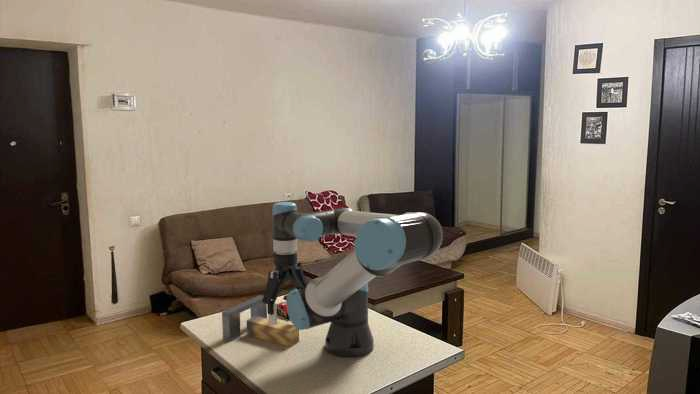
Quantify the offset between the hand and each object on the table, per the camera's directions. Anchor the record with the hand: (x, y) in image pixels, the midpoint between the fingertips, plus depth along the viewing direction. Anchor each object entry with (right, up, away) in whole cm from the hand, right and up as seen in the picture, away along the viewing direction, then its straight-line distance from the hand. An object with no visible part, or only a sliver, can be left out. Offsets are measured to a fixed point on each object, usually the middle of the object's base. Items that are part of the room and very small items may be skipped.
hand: (286, 316), depth 166 cm
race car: (-3, -5, +25) cm, 26 cm away
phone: (+1, -3, +40) cm, 40 cm away
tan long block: (-5, -8, +4) cm, 10 cm away
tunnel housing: (-15, -7, +10) cm, 19 cm away
